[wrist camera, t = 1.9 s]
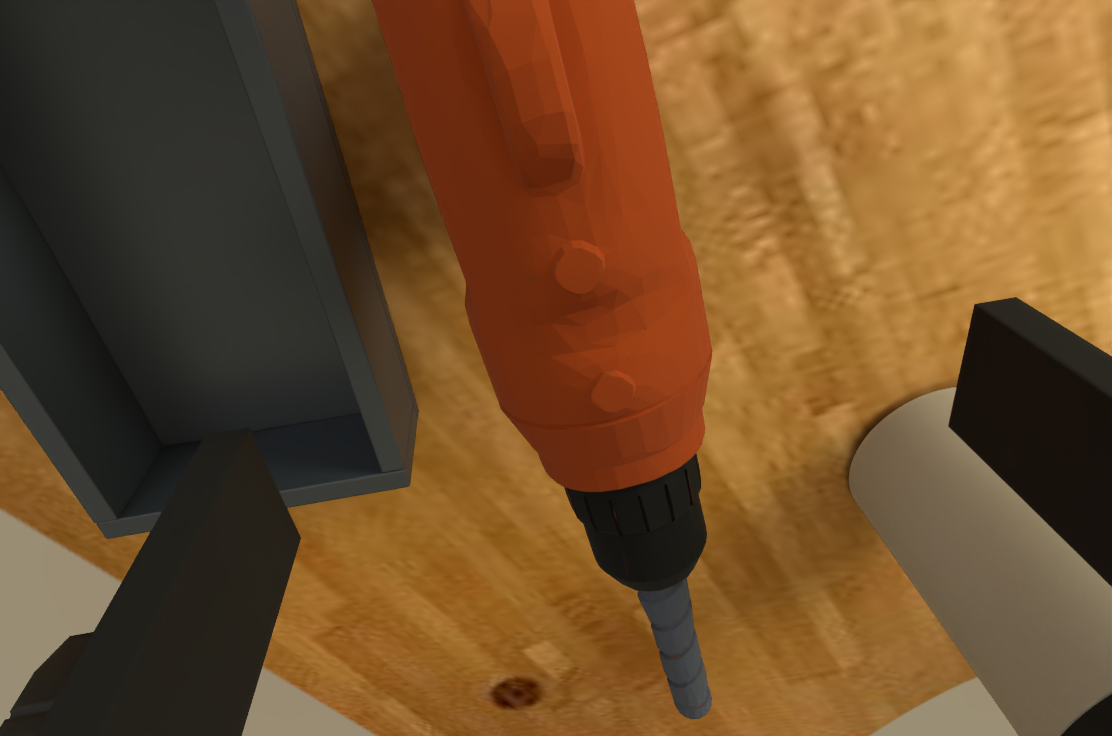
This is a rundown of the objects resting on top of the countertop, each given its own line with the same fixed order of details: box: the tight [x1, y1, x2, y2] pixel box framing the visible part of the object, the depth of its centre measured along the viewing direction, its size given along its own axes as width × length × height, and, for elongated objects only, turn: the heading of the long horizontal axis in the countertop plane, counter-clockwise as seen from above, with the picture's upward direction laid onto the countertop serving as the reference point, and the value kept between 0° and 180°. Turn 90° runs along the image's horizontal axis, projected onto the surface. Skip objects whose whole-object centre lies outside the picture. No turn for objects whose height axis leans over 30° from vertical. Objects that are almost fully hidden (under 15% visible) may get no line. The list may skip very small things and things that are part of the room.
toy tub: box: [0, 0, 419, 539], centre depth 19 cm, size 25×11×5 cm, turn 8°
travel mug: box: [849, 387, 1112, 736], centre depth 24 cm, size 8×8×18 cm
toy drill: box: [372, 0, 712, 719], centre depth 17 cm, size 5×19×15 cm, turn 15°
